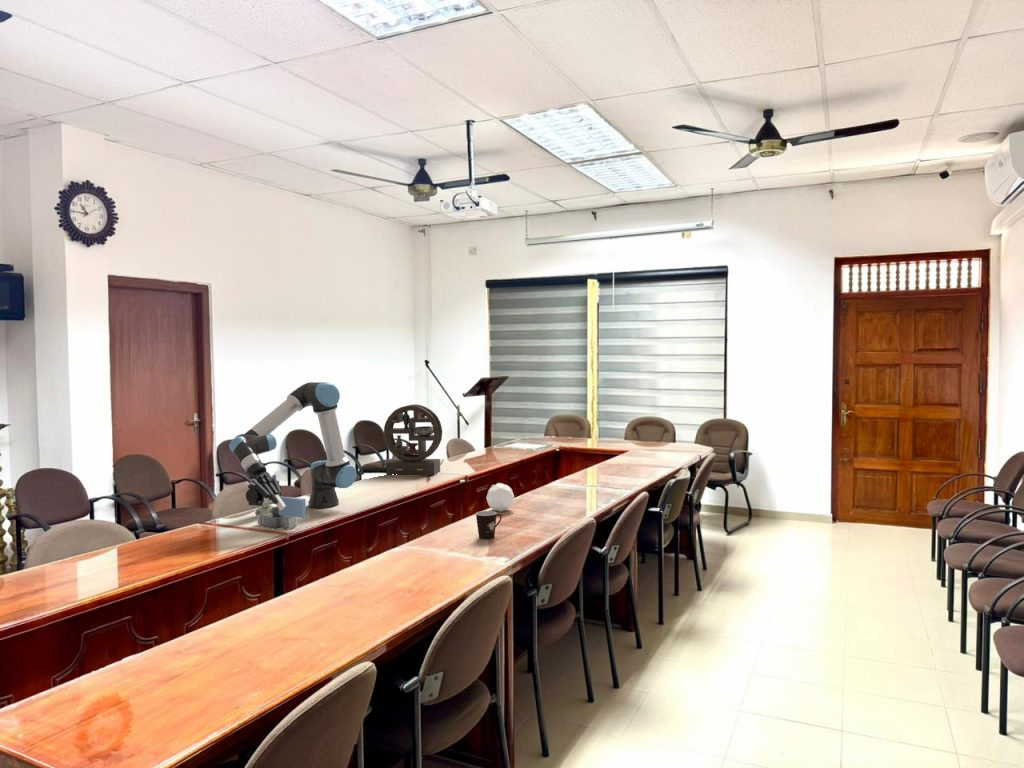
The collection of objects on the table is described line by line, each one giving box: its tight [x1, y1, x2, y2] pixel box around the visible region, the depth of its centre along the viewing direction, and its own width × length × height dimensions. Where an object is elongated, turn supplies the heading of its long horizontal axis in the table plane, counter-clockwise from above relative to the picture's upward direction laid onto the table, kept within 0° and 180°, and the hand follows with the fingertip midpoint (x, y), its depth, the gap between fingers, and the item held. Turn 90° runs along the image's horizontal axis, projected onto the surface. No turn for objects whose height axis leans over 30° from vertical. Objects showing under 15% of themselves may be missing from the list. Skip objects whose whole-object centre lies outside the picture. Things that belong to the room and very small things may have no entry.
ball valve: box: [245, 480, 283, 517], centre depth 324 cm, size 18×8×18 cm, turn 162°
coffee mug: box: [475, 510, 502, 540], centre depth 278 cm, size 12×9×10 cm
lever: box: [272, 495, 307, 519], centre depth 300 cm, size 19×4×8 cm, turn 61°
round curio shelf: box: [383, 403, 443, 477], centre depth 439 cm, size 37×19×45 cm, turn 83°
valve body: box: [256, 512, 297, 530], centre depth 304 cm, size 8×20×5 cm, turn 61°
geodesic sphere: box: [486, 482, 515, 513], centre depth 327 cm, size 14×14×14 cm
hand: (283, 508), depth 285 cm, fingers closed
